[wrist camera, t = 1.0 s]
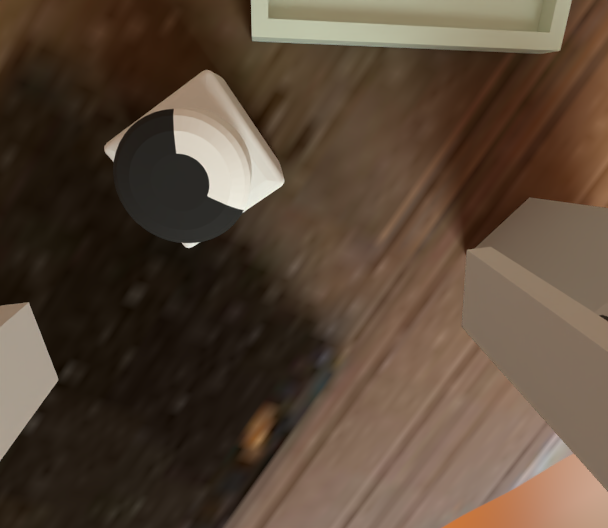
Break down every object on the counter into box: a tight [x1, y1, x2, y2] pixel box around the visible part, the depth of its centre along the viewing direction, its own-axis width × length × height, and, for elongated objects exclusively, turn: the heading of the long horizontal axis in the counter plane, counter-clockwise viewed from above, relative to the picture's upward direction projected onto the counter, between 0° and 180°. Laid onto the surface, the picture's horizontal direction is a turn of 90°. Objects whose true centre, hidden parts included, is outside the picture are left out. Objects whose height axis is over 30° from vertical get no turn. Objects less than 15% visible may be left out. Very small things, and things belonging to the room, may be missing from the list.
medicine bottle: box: [104, 70, 284, 248], centre depth 23 cm, size 7×7×12 cm
